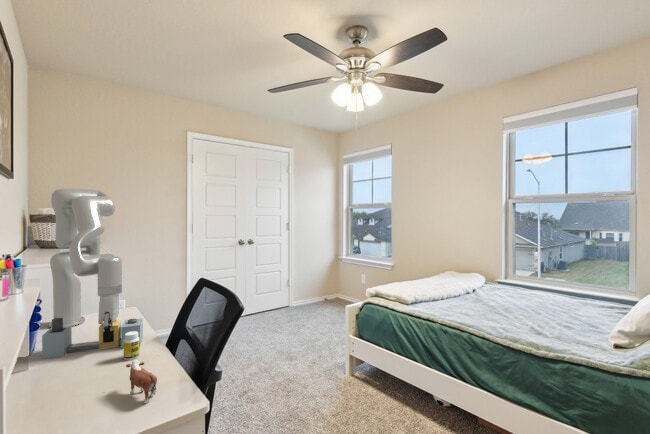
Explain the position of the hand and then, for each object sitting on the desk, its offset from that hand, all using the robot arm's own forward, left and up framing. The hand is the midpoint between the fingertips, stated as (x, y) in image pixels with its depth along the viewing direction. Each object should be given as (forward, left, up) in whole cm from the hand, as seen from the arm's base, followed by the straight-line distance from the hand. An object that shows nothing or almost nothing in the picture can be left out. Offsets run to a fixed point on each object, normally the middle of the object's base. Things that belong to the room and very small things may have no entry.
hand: (110, 338), depth 123 cm
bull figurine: (+40, +15, -3) cm, 43 cm away
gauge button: (0, -16, +5) cm, 17 cm away
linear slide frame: (0, -4, -3) cm, 5 cm away
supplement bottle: (+13, +9, -3) cm, 16 cm away
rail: (0, -4, -3) cm, 5 cm away
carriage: (0, 0, -3) cm, 3 cm away
